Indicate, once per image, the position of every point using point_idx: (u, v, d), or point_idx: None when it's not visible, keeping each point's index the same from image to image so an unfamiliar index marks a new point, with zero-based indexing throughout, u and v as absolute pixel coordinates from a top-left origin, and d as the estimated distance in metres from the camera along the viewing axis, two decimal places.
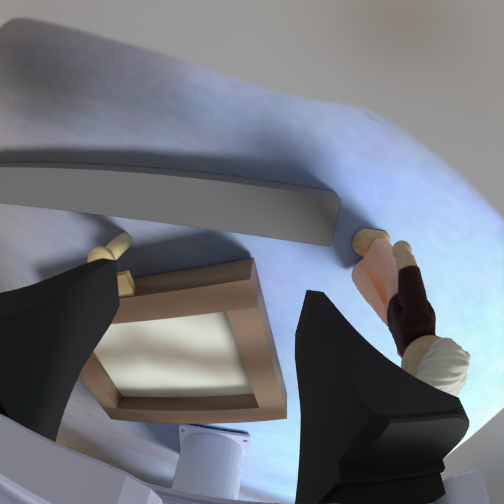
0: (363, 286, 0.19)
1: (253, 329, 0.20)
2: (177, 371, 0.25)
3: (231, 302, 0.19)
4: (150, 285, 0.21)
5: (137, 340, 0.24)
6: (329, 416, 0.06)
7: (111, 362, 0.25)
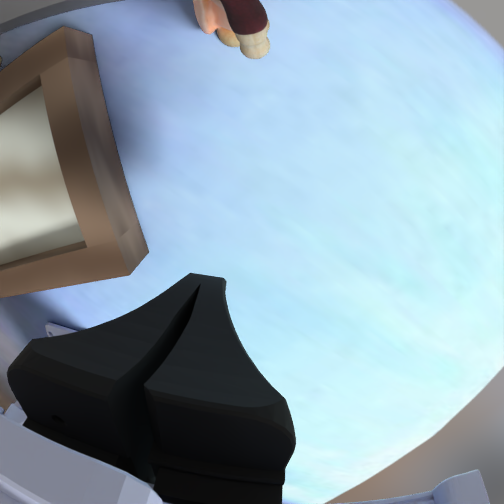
0: None
1: (63, 90, 0.12)
2: (17, 208, 0.16)
3: (45, 60, 0.11)
4: None
5: None
6: None
7: None
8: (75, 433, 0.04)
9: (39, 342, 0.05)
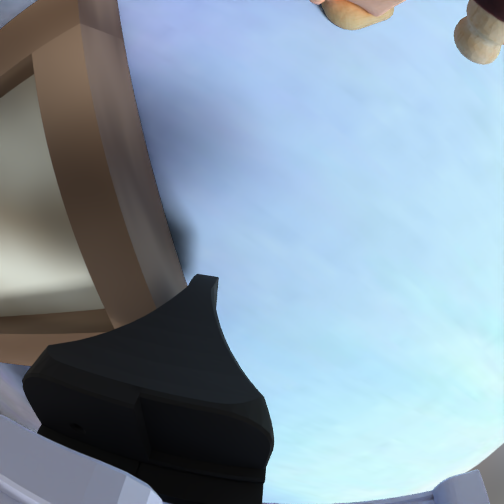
0: None
1: (70, 80, 0.07)
2: (4, 253, 0.11)
3: (41, 30, 0.06)
4: None
5: None
6: None
7: None
8: (94, 440, 0.04)
9: (56, 348, 0.05)
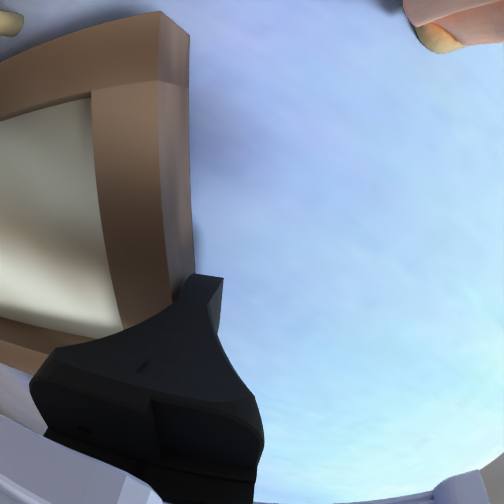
0: None
1: (137, 146, 0.07)
2: (19, 266, 0.11)
3: (106, 67, 0.07)
4: None
5: None
6: None
7: None
8: (102, 443, 0.04)
9: (63, 351, 0.05)
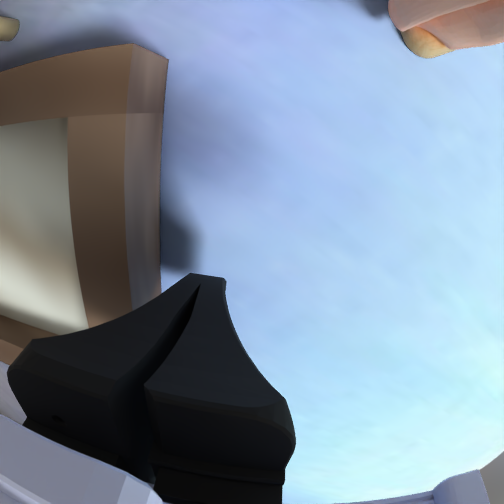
0: None
1: (105, 174, 0.08)
2: (2, 264, 0.12)
3: (82, 95, 0.07)
4: None
5: None
6: None
7: None
8: (75, 433, 0.04)
9: (39, 342, 0.05)
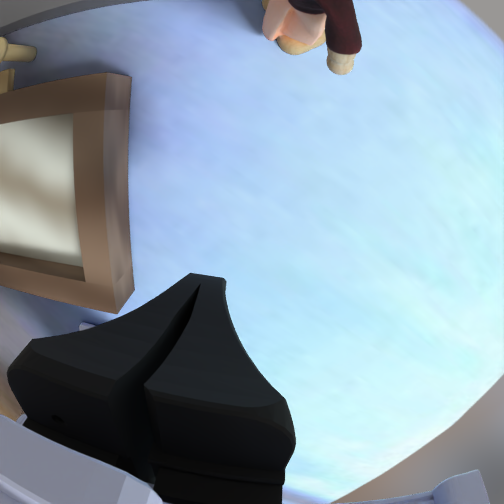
0: (266, 11, 0.11)
1: (93, 143, 0.14)
2: (23, 214, 0.18)
3: (81, 101, 0.13)
4: None
5: None
6: None
7: None
8: (75, 433, 0.04)
9: (39, 342, 0.05)
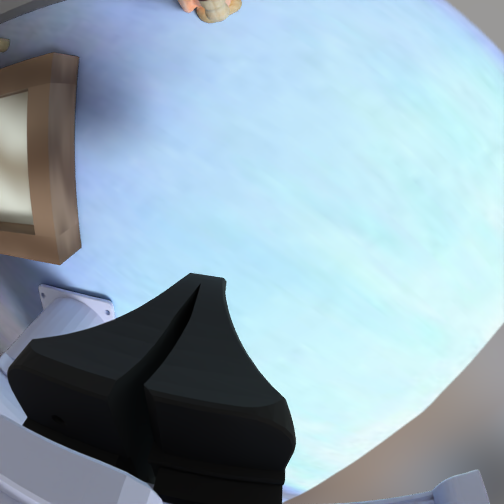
0: None
1: (41, 111, 0.14)
2: None
3: (34, 77, 0.13)
4: None
5: None
6: None
7: None
8: (75, 433, 0.04)
9: (40, 342, 0.05)
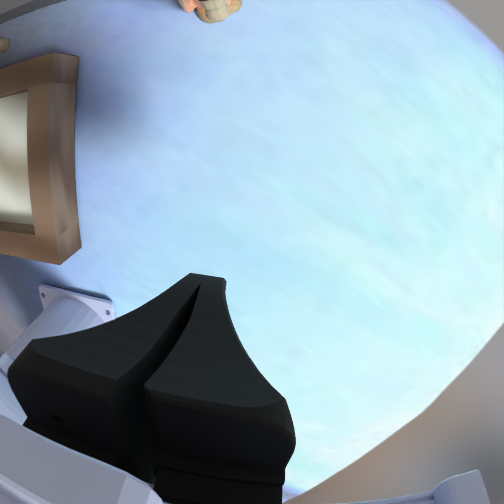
0: None
1: (41, 111, 0.14)
2: None
3: (34, 77, 0.13)
4: None
5: None
6: None
7: None
8: (75, 433, 0.04)
9: (40, 342, 0.05)
